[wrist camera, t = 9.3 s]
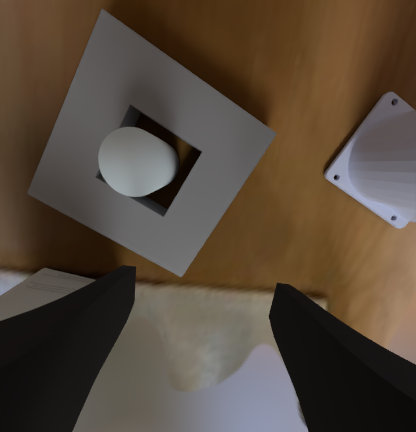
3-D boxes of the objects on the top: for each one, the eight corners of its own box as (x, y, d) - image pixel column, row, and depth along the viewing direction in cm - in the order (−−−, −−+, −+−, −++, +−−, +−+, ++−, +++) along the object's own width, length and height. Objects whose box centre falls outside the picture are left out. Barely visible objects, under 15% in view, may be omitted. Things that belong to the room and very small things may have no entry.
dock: (266, 137, 17) (276, 133, 15) (184, 263, 20) (181, 277, 18) (118, 33, 15) (101, 8, 13) (50, 189, 18) (26, 193, 16)
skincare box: (39, 311, 21) (-310, 620, 7) (45, 262, 20) (-380, 521, 5) (117, 329, 22) (-50, 644, 8) (128, 283, 21) (-53, 563, 6)
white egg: (187, 155, 17) (178, 150, 12) (166, 194, 18) (148, 208, 12) (145, 130, 17) (114, 112, 11) (126, 172, 18) (87, 176, 12)
